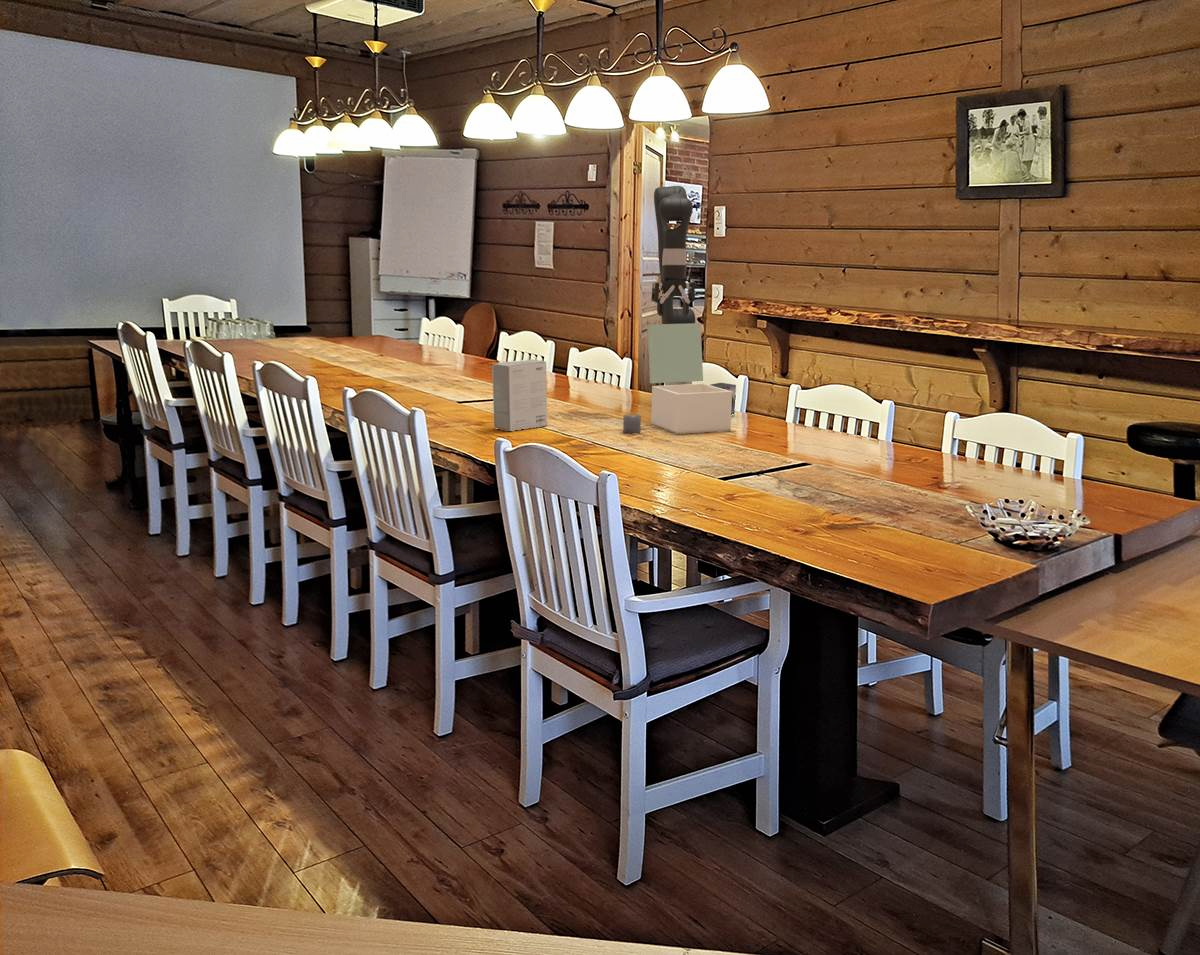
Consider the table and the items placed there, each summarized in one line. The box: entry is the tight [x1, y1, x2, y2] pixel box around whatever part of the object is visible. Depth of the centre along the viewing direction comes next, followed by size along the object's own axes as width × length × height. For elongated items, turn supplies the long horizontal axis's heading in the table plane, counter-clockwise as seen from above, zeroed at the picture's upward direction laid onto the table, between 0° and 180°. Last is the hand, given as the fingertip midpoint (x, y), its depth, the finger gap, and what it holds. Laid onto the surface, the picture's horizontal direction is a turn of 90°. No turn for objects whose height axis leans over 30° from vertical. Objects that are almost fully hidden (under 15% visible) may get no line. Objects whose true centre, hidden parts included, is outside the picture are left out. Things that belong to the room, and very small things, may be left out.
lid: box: [646, 322, 704, 384], centre depth 330 cm, size 18×18×1 cm
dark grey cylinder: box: [622, 413, 642, 435], centre depth 316 cm, size 5×5×5 cm
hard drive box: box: [491, 358, 548, 432], centre depth 320 cm, size 16×8×20 cm, turn 134°
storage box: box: [650, 383, 732, 435], centre depth 323 cm, size 18×18×12 cm
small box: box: [710, 382, 737, 415], centre depth 344 cm, size 11×6×10 cm, turn 143°
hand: (672, 315), depth 337 cm, fingers open, 8 cm apart
